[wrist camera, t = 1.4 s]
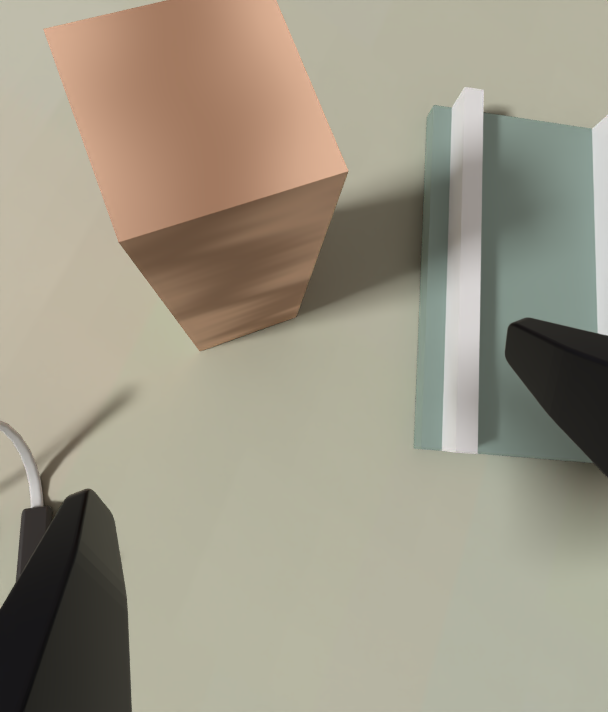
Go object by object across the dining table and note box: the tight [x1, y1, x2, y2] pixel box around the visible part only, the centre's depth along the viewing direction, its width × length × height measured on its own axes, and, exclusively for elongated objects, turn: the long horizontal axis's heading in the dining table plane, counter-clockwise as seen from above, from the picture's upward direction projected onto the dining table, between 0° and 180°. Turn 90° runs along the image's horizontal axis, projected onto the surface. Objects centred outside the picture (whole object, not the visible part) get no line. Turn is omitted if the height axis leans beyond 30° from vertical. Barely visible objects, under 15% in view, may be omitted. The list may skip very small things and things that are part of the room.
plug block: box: [44, 0, 348, 351], centre depth 16 cm, size 5×5×13 cm
